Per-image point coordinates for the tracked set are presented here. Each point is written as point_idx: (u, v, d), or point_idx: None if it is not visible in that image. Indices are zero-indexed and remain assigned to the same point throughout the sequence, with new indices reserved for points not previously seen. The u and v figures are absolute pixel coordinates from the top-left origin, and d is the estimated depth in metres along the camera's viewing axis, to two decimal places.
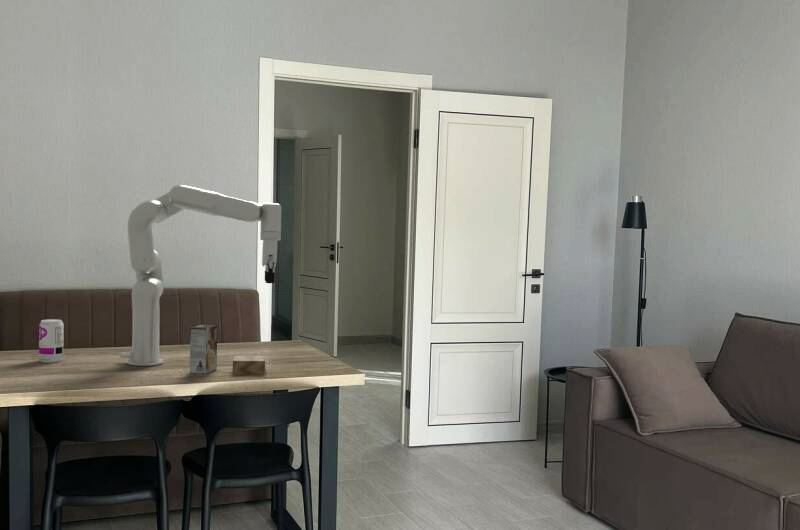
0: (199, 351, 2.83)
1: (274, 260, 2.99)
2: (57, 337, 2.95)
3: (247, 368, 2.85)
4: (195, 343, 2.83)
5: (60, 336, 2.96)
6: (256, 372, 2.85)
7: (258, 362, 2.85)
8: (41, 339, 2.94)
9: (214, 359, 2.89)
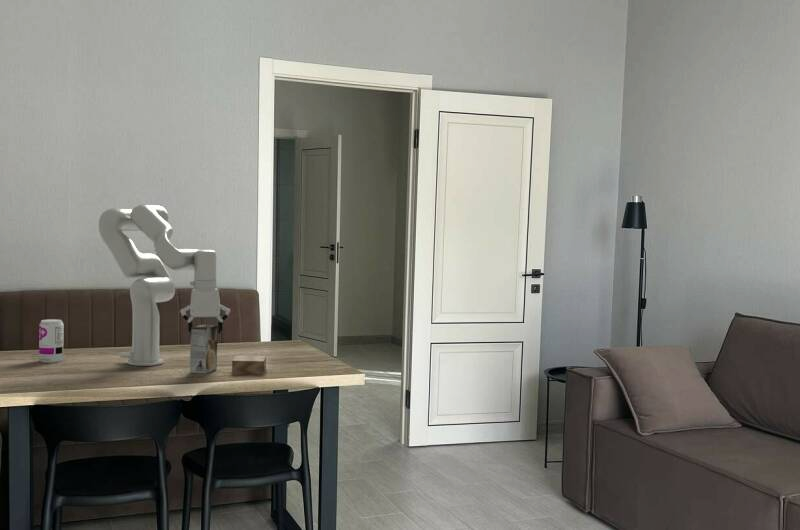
0: (199, 351, 2.83)
1: None
2: (57, 337, 2.95)
3: (247, 368, 2.85)
4: (196, 342, 2.83)
5: (60, 336, 2.96)
6: (255, 372, 2.85)
7: (257, 362, 2.85)
8: (41, 339, 2.94)
9: (214, 359, 2.89)
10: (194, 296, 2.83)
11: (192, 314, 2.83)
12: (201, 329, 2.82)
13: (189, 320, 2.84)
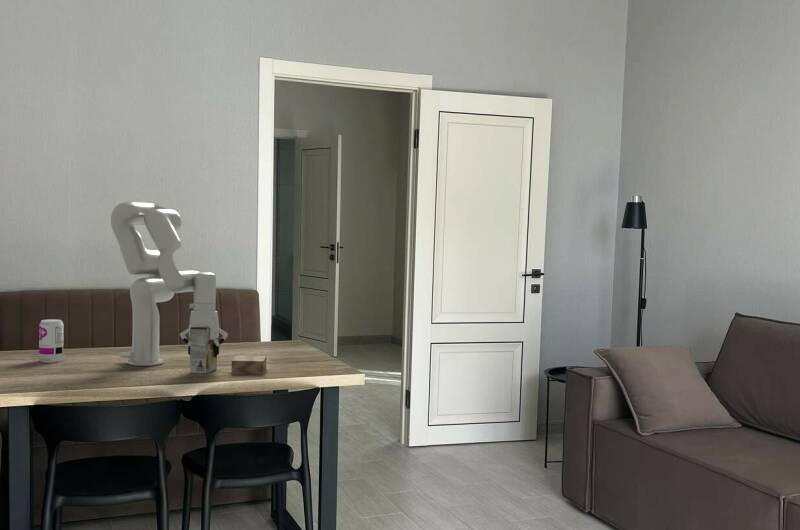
0: (199, 351, 2.83)
1: None
2: (57, 337, 2.95)
3: (246, 368, 2.85)
4: (196, 343, 2.83)
5: (60, 336, 2.96)
6: (255, 372, 2.85)
7: (257, 362, 2.85)
8: (41, 339, 2.94)
9: (214, 359, 2.89)
10: (193, 319, 2.84)
11: None
12: (201, 329, 2.82)
13: (189, 343, 2.85)
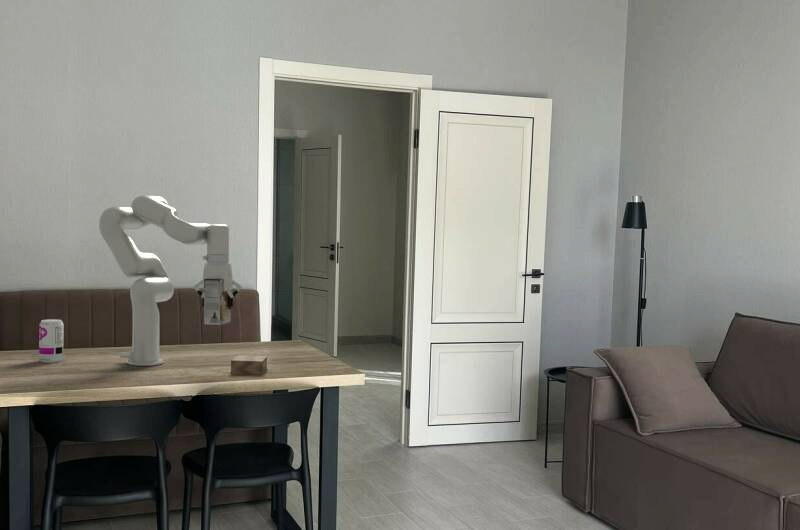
0: (213, 303, 2.82)
1: (232, 284, 2.89)
2: (57, 337, 2.95)
3: (245, 368, 2.85)
4: (209, 294, 2.82)
5: (60, 336, 2.96)
6: (254, 372, 2.85)
7: (256, 362, 2.84)
8: (41, 339, 2.94)
9: (228, 311, 2.88)
10: (207, 270, 2.83)
11: None
12: (214, 280, 2.82)
13: (203, 295, 2.85)
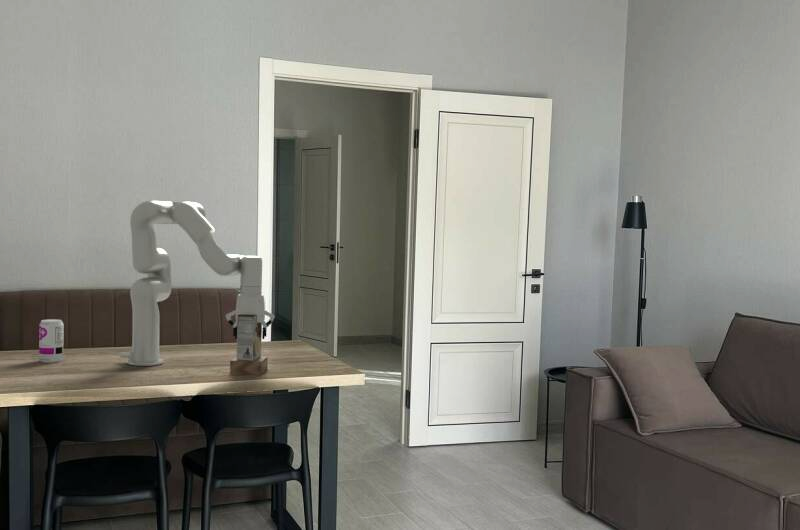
0: (246, 339, 2.85)
1: None
2: (57, 337, 2.95)
3: (244, 368, 2.84)
4: (243, 330, 2.85)
5: (60, 336, 2.96)
6: (253, 372, 2.84)
7: (255, 363, 2.84)
8: (41, 339, 2.94)
9: (259, 347, 2.91)
10: (240, 301, 2.86)
11: (237, 319, 2.86)
12: (248, 316, 2.84)
13: (234, 325, 2.87)
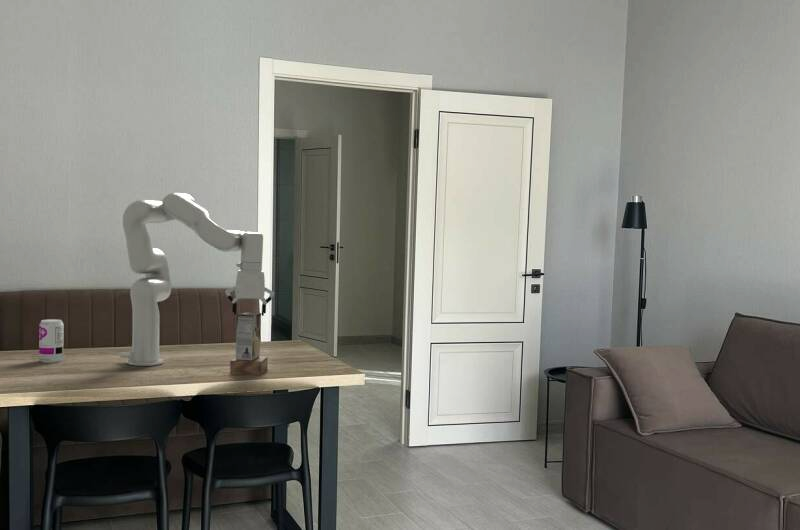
0: (246, 338, 2.85)
1: None
2: (57, 337, 2.95)
3: (244, 368, 2.85)
4: (242, 330, 2.85)
5: (60, 336, 2.96)
6: (253, 372, 2.85)
7: (255, 363, 2.84)
8: (41, 339, 2.94)
9: (258, 347, 2.92)
10: (240, 277, 2.85)
11: (237, 295, 2.85)
12: (248, 316, 2.85)
13: (234, 301, 2.87)
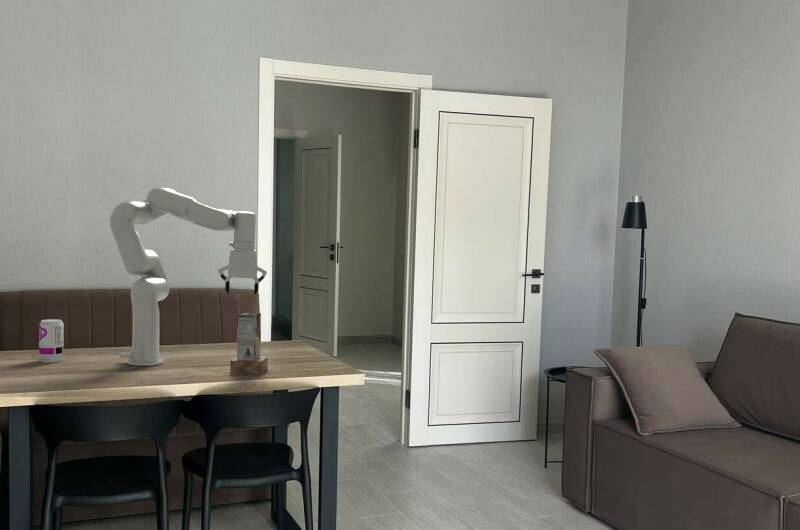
0: (247, 339, 2.85)
1: None
2: (57, 337, 2.95)
3: (245, 368, 2.84)
4: (243, 330, 2.85)
5: (60, 336, 2.96)
6: (253, 373, 2.84)
7: (255, 363, 2.84)
8: (41, 339, 2.94)
9: (259, 346, 2.91)
10: (232, 256, 2.89)
11: (230, 274, 2.89)
12: (248, 317, 2.84)
13: (226, 280, 2.90)
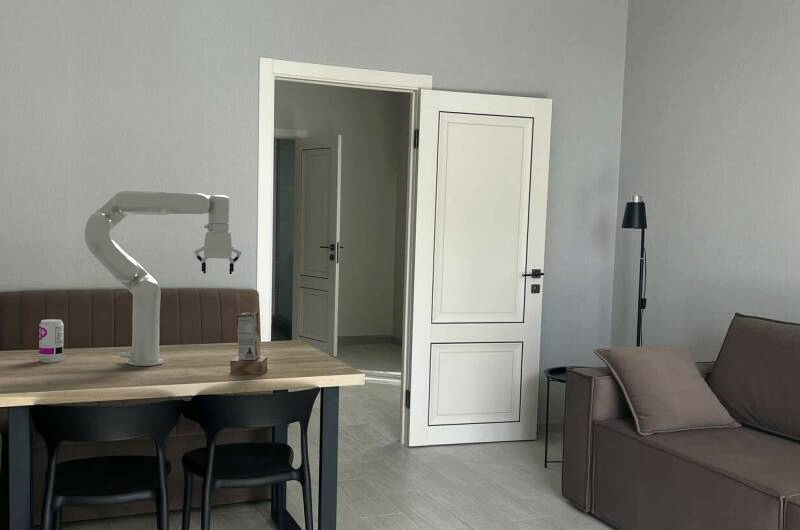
0: (247, 338, 2.85)
1: None
2: (57, 337, 2.95)
3: (245, 368, 2.85)
4: (243, 330, 2.85)
5: (60, 336, 2.96)
6: (253, 373, 2.85)
7: (255, 363, 2.85)
8: (41, 339, 2.94)
9: (259, 345, 2.92)
10: (208, 238, 3.02)
11: (205, 255, 3.02)
12: (248, 316, 2.85)
13: (202, 260, 3.04)
